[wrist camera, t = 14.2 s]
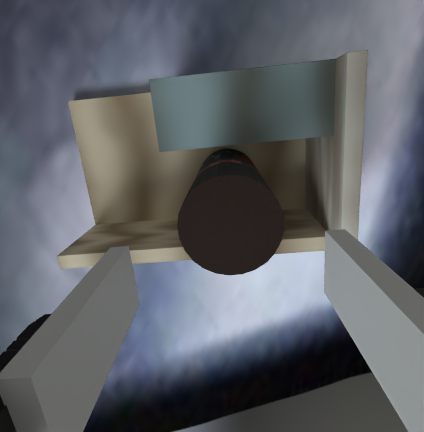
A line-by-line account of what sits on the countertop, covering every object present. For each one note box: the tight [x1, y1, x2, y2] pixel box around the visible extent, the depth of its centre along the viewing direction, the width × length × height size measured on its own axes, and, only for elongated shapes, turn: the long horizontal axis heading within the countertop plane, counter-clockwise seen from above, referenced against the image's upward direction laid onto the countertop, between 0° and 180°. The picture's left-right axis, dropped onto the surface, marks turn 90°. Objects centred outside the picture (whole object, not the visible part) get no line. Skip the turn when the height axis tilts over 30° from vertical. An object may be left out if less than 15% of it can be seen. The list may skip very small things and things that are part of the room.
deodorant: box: [177, 149, 284, 275], centre depth 24 cm, size 6×6×15 cm
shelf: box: [57, 50, 368, 269], centre depth 26 cm, size 24×14×11 cm, turn 96°
